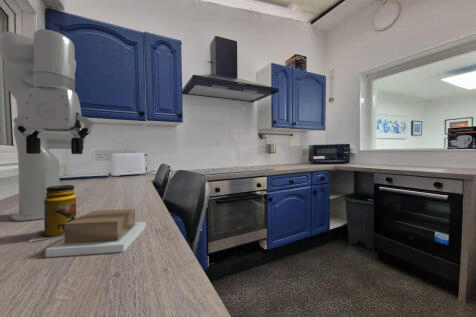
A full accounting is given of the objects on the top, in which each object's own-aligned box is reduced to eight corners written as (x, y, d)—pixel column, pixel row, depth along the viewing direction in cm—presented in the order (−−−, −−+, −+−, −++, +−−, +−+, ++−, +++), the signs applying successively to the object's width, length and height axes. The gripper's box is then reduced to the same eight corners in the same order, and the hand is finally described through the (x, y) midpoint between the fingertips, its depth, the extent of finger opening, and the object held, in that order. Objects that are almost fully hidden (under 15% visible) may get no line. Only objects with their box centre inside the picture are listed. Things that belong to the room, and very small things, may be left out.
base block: (93, 226, 50) (93, 210, 50) (135, 224, 51) (134, 209, 51) (64, 243, 40) (64, 224, 40) (117, 240, 42) (117, 221, 41)
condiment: (76, 234, 49) (76, 186, 49) (28, 243, 44) (27, 190, 44) (79, 226, 55) (79, 183, 55) (37, 232, 50) (36, 185, 50)
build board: (89, 230, 52) (89, 224, 52) (145, 227, 54) (145, 221, 54) (45, 257, 38) (45, 248, 38) (123, 251, 40) (123, 244, 40)
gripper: (-1, 77, 44) (-1, 153, 44) (83, 82, 47) (84, 154, 47) (29, 88, 51) (29, 153, 52) (101, 92, 54) (101, 154, 54)
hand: (55, 153), depth 49 cm, fingers open, 9 cm apart
